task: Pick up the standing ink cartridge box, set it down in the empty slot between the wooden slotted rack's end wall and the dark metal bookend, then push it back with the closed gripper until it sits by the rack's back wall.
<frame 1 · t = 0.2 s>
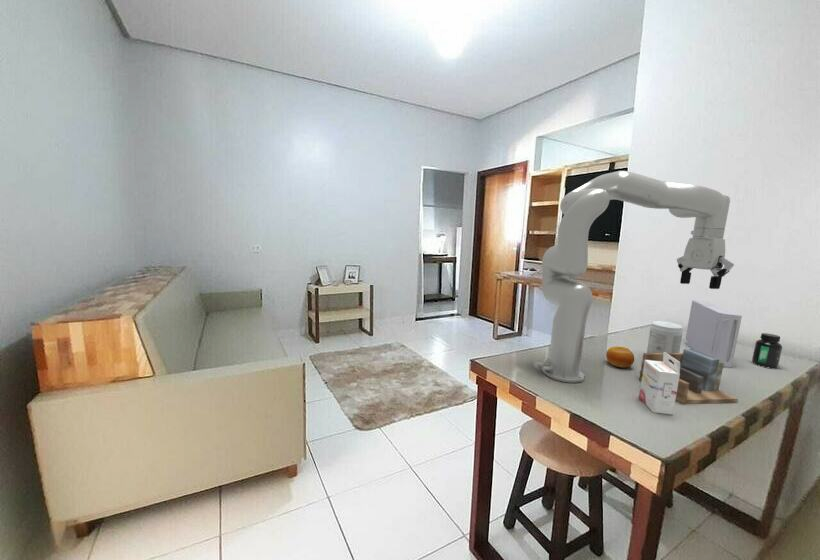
hand: (698, 286, 109), 31 cm above the table, tool pointing down, fingers open, 9 cm apart
wooden slotted rack: (685, 390, 100), on the table
game console: (705, 354, 134), on the table
supplement tub: (660, 362, 124), on the table
ink cartridge box: (654, 406, 90), on the table
supplement bottle: (764, 365, 124), on the table
fruit: (618, 366, 118), on the table
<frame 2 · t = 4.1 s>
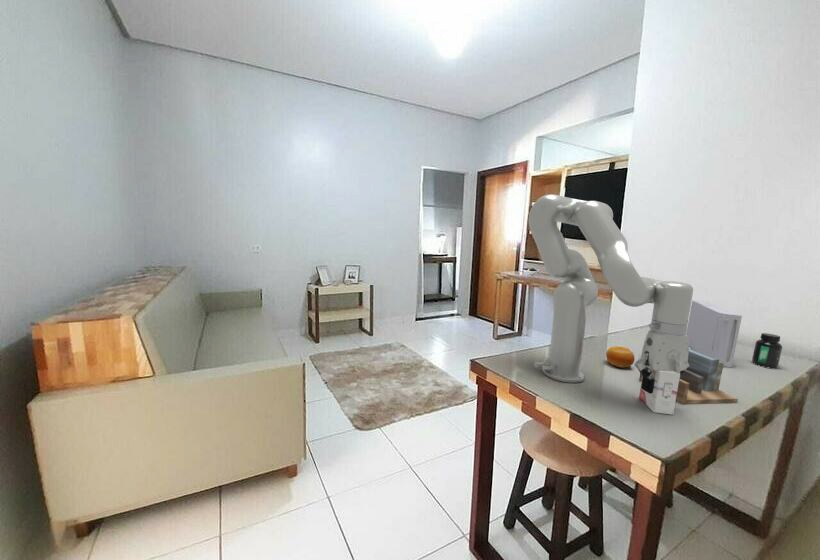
hand: (657, 390, 90), 5 cm above the table, tool pointing down, fingers closed on ink cartridge box, 6 cm apart
ink cartridge box: (654, 406, 90), on the table, touching gripper
everything else where it was.
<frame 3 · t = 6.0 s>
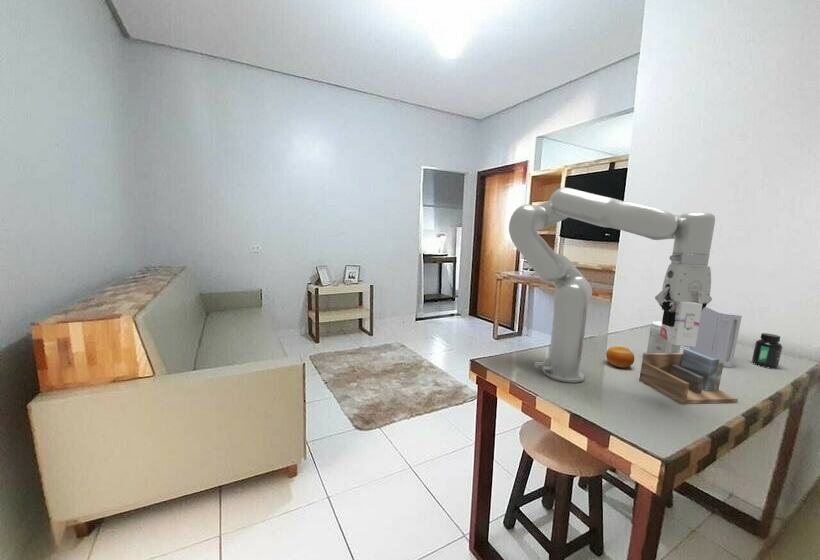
hand: (679, 324, 89), 23 cm above the table, tool pointing down, fingers closed on ink cartridge box, 6 cm apart
ink cartridge box: (676, 342, 90), point 18 cm above the table, touching gripper
everything else where it was.
when the fingers open (11 cm above the table, at t = 8.3 s): ink cartridge box drops 3 cm, resting on wooden slotted rack.
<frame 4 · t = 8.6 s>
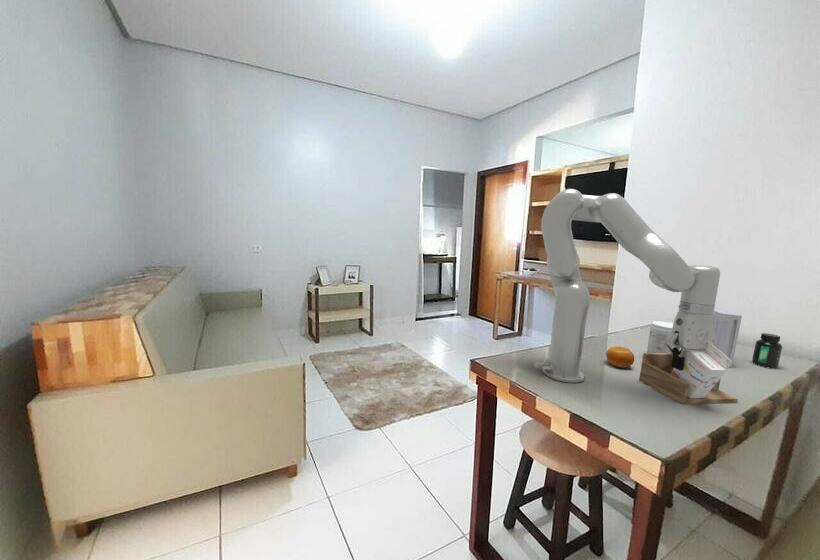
hand: (686, 367, 96), 9 cm above the table, tool pointing down, fingers open, 5 cm apart
ink cartridge box: (685, 387, 97), point 3 cm above the table, touching wooden slotted rack
everything else where it was.
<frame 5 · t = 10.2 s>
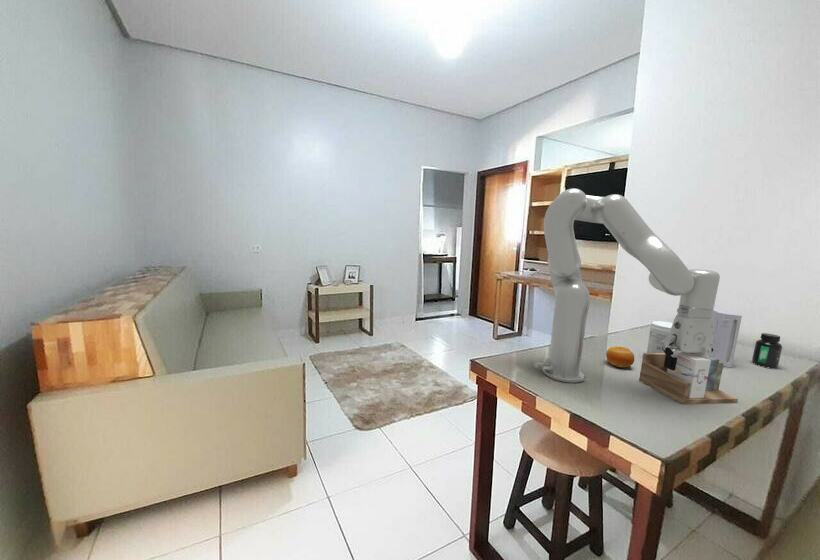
hand: (683, 368, 96), 8 cm above the table, tool pointing down, fingers open, 9 cm apart
ink cartridge box: (683, 392, 97), point 1 cm above the table, touching wooden slotted rack
everything else where it was.
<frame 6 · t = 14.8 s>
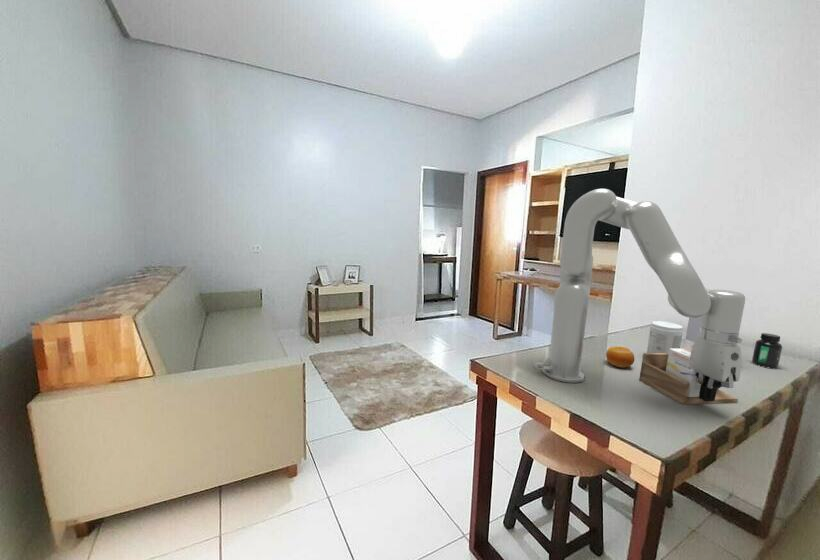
hand: (706, 399, 90), 2 cm above the table, tool pointing down, fingers closed
ink cartridge box: (682, 391, 98), point 1 cm above the table, touching gripper
everything else where it was.
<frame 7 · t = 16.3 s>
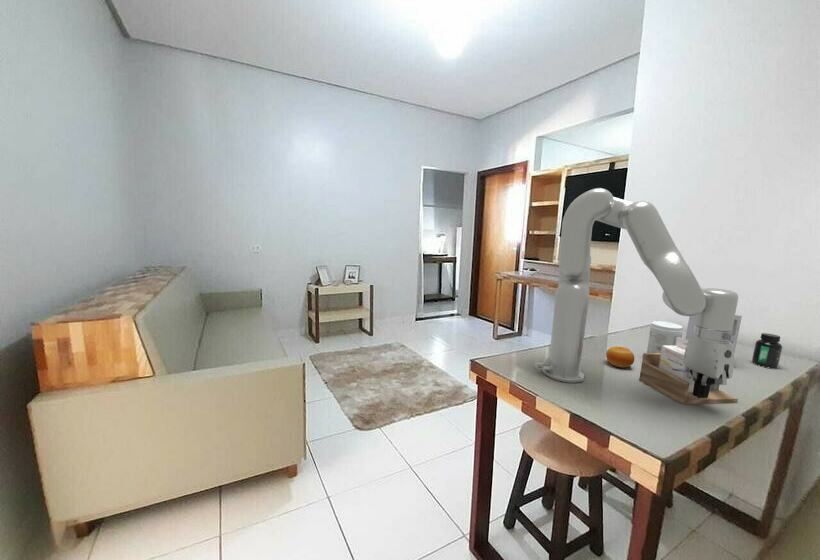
hand: (700, 396, 92), 2 cm above the table, tool pointing down, fingers closed
ink cartridge box: (674, 386, 100), point 1 cm above the table, touching wooden slotted rack
everything else where it was.
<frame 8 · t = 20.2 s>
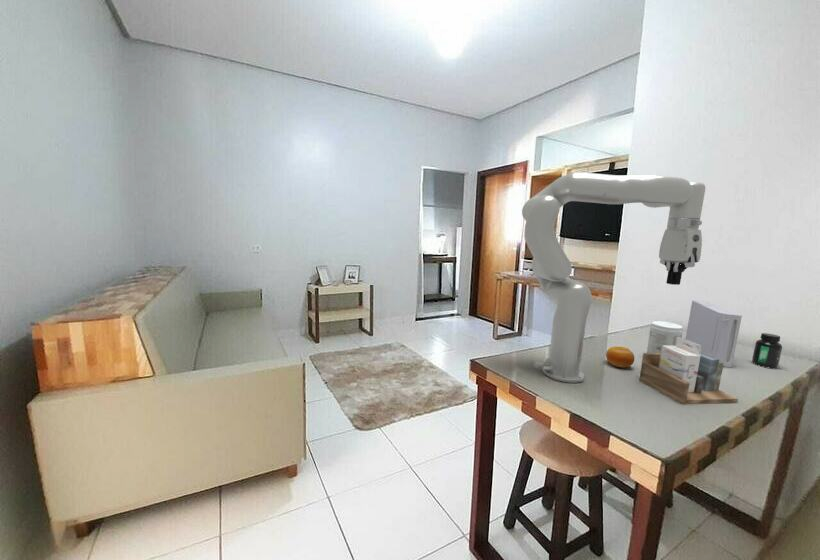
hand: (673, 284, 102), 32 cm above the table, tool pointing down, fingers closed
nothing on the table moved.
at the end: ink cartridge box 0.9 cm from the target spot on the wooden slotted rack, point 1.0 cm above the wooden slotted rack's base; ink cartridge box tilted 0°; the gripper is holding nothing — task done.
